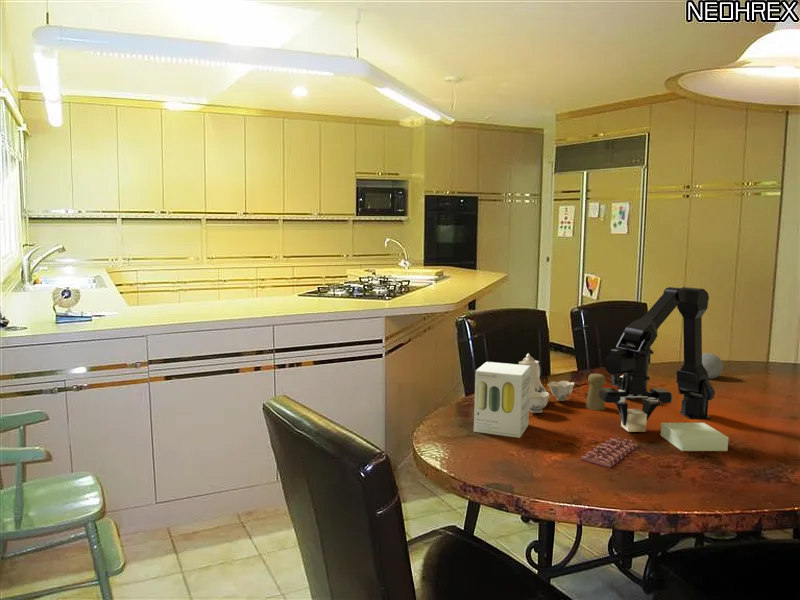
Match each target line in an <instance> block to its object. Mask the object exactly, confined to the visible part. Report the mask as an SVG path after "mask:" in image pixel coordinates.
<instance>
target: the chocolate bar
mask: <svg viewBox="0 0 800 600" xmlns="http://www.w3.org/2000/svg"><path fill="white" fill-rule="evenodd" d="M600 444H601V445H596V446H595V448H592V450H590V451H587V452H586V453H585V454H584V455H582V456H581V457H580V461H581V462H586V463H589V464H593V465H596V466H601V467H603V468H608V469H611V468H612V467H614V465H616V464H618V463H619V462H620V461H621V460H622V459H624V458H625V457H626V456H627V455H628V454H631V452H633V451H634V450H636V448H638V443H633V440H631V439H626V438H623V440H621V438H620V437H616V438H612V437H610V438H608V440H605V442H602V443H600Z"/></svg>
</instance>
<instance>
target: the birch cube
mask: <svg viewBox="0 0 800 600" xmlns="http://www.w3.org/2000/svg"><path fill="white" fill-rule="evenodd" d="M646 421H647V422H648V420H647V414H646V413H644V412H643V411H642V410H641V409H640V408H628V409H627V421H626V425H625V426H624V425H623V423H622V420H621V421H620V422H621V423H620V427H622V428H623V429H624V430H625V431H627V432H629V433H632V432H633V433H635V432H639V433H641V432H642V433H646V432H647V422H646Z"/></svg>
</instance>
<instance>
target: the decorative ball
mask: <svg viewBox="0 0 800 600" xmlns="http://www.w3.org/2000/svg"><path fill="white" fill-rule="evenodd" d="M702 365H703V366H704V368H705V369H706V371H707V372H708V378H709V380H712V379H713V380H714V379H717V378H718V377H719V376H720V375H721V374H722V372H723V370H724V363H723V361H722V359H721V358H720V357H719V356H718V355H717V354H714V353H712V352H705V353H702Z"/></svg>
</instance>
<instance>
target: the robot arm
mask: <svg viewBox="0 0 800 600" xmlns="http://www.w3.org/2000/svg"><path fill="white" fill-rule="evenodd" d="M709 299H710V296H709V293H708V291H706V289H704V288H699V287H691V286H689V287H688V286H682V287H675V286H674V287H673V286H668V287H666V288H665V289H664V291H663V294H662V295H661V296H660V297H659V298H658V299H657V301H656V302H655V303H654V304H653V305H652V306H651V307H650V309H649V310H648V311H647V312H646V313H645V314H644V315H643V316H641V318H638V319H636V320H633V321H632V322H631V323H630V324H628V325H627V326H626V327H625V329H624V331H623V333H622V334H621V336H620V338H619V340H618V342H617V344H616V346H615V348H614V349H611V350H610V353H609V354H608V355H606V357H605V359H604V362H603V363H604V369H605V371H607V373H608V374H610V375H611V376H610V385H611V386H612V387H603V388H601V390H600V391H599V398H601V399H602V400H603V401H605V403H608V404H610V403H611V404H615V406H616V407H617V410H618V413H619V417H620V419H621V420H622V423H623V425H624V426H625V425H626V421H627V409H629V408H628V407H629V405H628V403H627V402H626V399H627V400H628V399H630V400H637V399H641V403H642V410H641V411H643V412H644V413H646V414H647V421H646V423H647V422H648V420H649V418H650V417H651V415H652V414H653V412H654V411H655V410H656V408H657V407H659V406H661V403H662V404H663V403H664V404H668V403H669V404H671V403H672V402H673V394H672V393H671V392H670V391H669V390H667V389H665V388H661V387H657V388H655V387H652V388H650V389H649V391H648V390H647V388H648V381H650V376H649V375H648V373H649V370H648V369H649V358H650V357H649V356H650V355H654V352H655V351H653V350H652V349H651V348H650V347H651V346H652V345H654V342H655V341H656V339H657V337H658V330H659V328H660V327H661V326H662V324H663V323H664V322H665V320H667V318H668V317H669V316H670V314H672V312H673V311H674V310H675V309H677V310H678V312H679V314H680V315H681V316H682V320H683V321H682V323H683V324H682V325H683V327H682V329H683V332H682V333H683V334H682V335H683V365H681V367H680V369H678V370H676V381H675V382H676V384H677V389H678V394H679V395H683V399H681V407H680V408H681V409H680V411H679V413H680V414H681V415H683V416H684V417H686V418H688V419H689V420H690V419H694V420H695V419H698V420H699V419H700V420H701V419H702V420H703V419H704V420H705V419H709V420H710V419H711V416H709V415H708V412H709V410H708V409H709V401H712V399H715V398H714V397H715V394H716V391H715V389H714V388H713V386H712V384H711V383H710V381H709V380H710V379H709V378H708V372H707V371H706V369H705V368H704V366H703V365H702V354H703V343H702V342H703V335H702V334H703V332H702V331H703V330H702V328H703V327H702V325H703V324H702V323H703V322H702V319H703V318H702V317H703V315H704V314H705V313H706V311H707V310H708V306H709ZM620 375H623V377H620ZM613 387H617V389H615V388H613ZM619 390H624V391H625V392H619Z"/></svg>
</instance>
